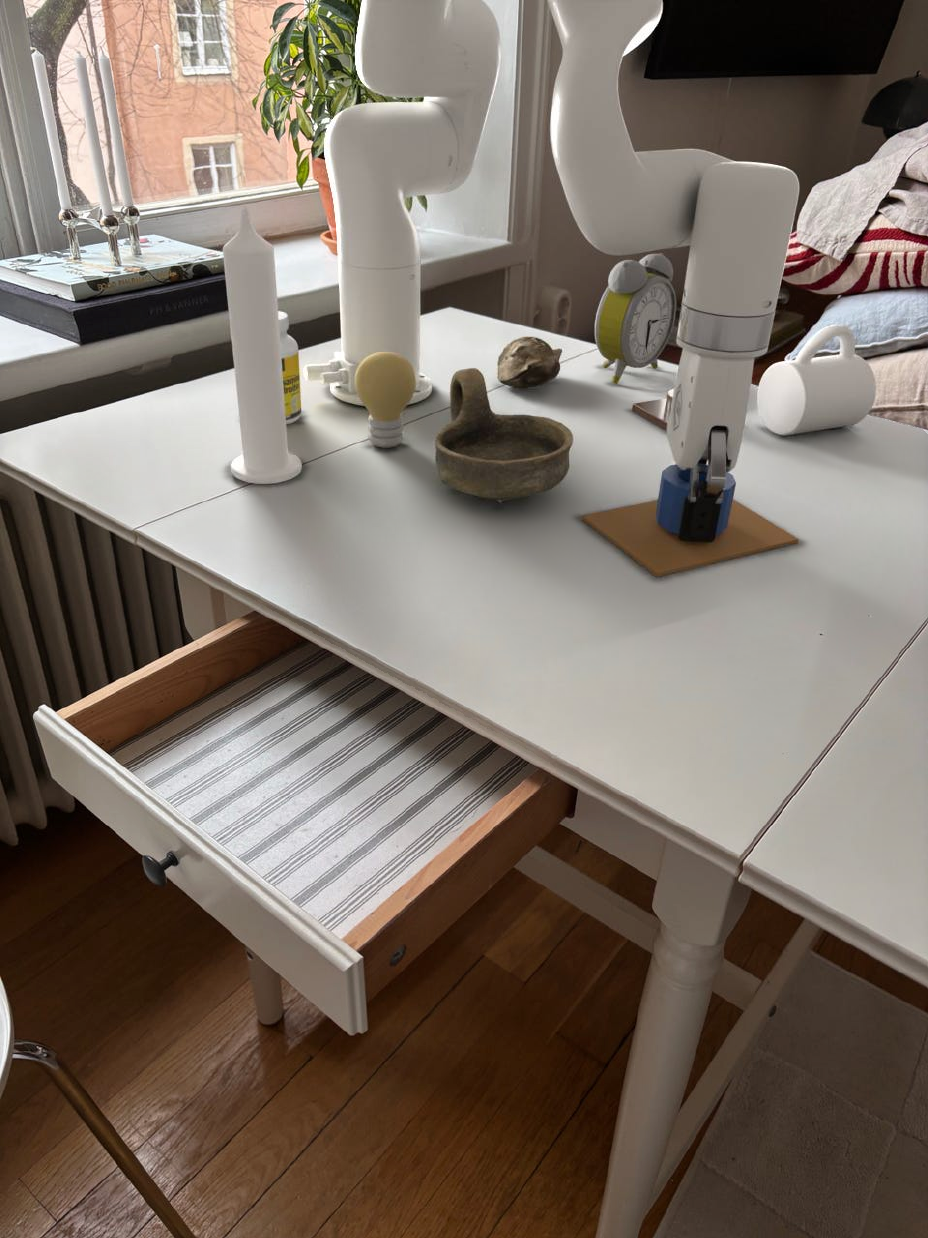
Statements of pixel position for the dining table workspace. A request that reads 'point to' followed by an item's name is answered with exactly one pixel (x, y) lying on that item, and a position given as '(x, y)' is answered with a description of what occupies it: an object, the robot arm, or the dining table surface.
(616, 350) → the alarm clock
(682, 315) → the robot arm
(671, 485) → the blue hollow cylinder
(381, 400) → the light bulb
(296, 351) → the pill bottle
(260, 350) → the candle
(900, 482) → the dining table surface
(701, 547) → the mat
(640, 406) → the dowel stand
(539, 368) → the fossilized seashell
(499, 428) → the bowl
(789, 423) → the mug
